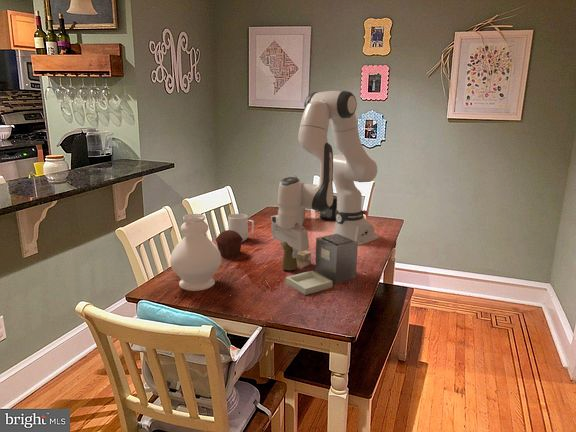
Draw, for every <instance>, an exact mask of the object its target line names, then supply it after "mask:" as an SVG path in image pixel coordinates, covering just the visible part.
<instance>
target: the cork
mask: <svg viewBox="0 0 576 432" xmlns="http://www.w3.org/2000/svg"><path fill="white" fill-rule="evenodd" d="M283 247H284V253H283V257H282V265H281V269H282V270H285V271H294V270H297V269H298V266H297V260H296V258H293V257H291V253H293V247H291V246H289V245H288V243H287V242H283Z"/></svg>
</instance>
